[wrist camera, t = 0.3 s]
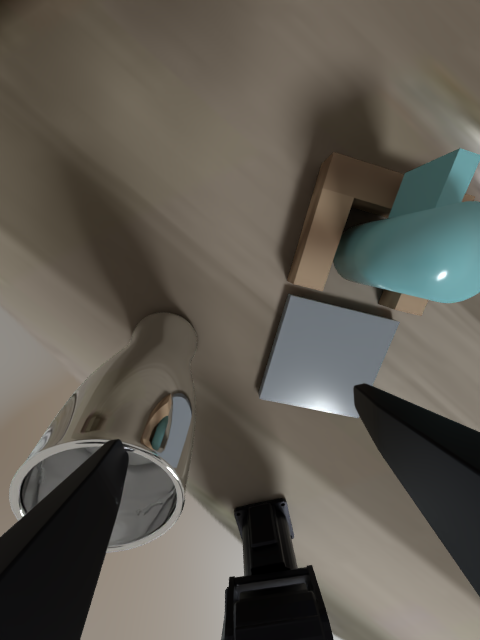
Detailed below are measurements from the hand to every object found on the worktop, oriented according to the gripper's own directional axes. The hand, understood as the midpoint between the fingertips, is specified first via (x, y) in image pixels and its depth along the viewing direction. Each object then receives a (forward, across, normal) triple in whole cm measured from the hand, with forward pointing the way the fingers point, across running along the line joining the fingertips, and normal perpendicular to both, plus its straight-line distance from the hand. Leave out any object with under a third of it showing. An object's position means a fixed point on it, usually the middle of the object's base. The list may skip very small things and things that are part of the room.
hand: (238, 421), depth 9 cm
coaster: (+15, -8, +8) cm, 18 cm away
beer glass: (+15, +7, +2) cm, 17 cm away
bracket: (+15, -13, -2) cm, 20 cm away
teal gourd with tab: (+15, -14, -3) cm, 21 cm away
